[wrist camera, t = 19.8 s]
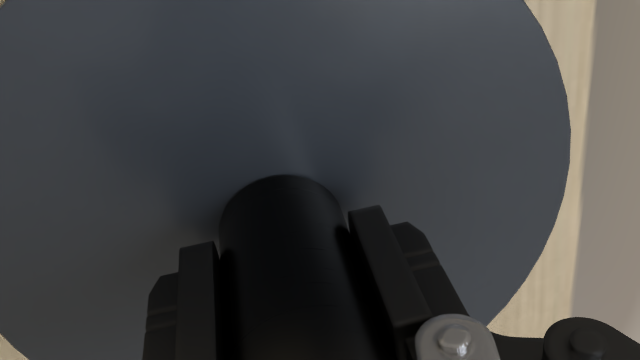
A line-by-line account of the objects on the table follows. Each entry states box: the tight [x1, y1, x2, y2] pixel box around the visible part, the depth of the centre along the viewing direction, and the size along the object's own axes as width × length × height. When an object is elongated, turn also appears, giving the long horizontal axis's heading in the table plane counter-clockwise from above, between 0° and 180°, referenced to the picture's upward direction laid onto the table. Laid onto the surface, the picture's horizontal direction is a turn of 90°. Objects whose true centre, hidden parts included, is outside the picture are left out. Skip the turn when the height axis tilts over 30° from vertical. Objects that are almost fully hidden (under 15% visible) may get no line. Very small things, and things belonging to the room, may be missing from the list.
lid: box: [0, 0, 571, 360], centre depth 12 cm, size 15×15×7 cm
